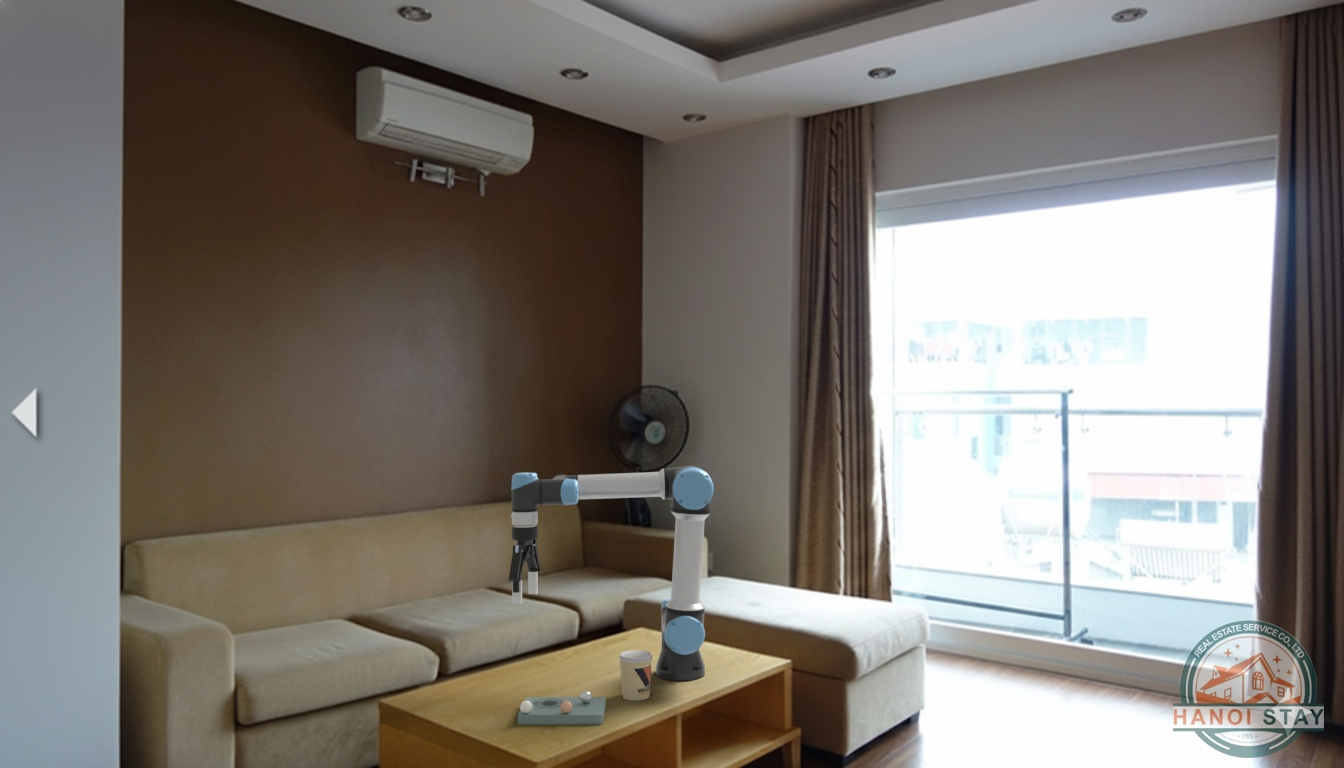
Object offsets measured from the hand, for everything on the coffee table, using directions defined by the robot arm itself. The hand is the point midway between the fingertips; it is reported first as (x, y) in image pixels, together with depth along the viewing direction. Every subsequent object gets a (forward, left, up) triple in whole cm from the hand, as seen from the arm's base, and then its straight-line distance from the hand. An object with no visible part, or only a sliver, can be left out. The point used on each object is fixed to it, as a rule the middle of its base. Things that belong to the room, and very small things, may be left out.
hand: (525, 598), depth 279 cm
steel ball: (-19, +20, -23) cm, 36 cm away
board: (-13, +22, -27) cm, 37 cm away
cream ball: (-4, +28, -23) cm, 36 cm away
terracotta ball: (-15, +28, -23) cm, 39 cm away
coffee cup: (-32, +6, -27) cm, 43 cm away
